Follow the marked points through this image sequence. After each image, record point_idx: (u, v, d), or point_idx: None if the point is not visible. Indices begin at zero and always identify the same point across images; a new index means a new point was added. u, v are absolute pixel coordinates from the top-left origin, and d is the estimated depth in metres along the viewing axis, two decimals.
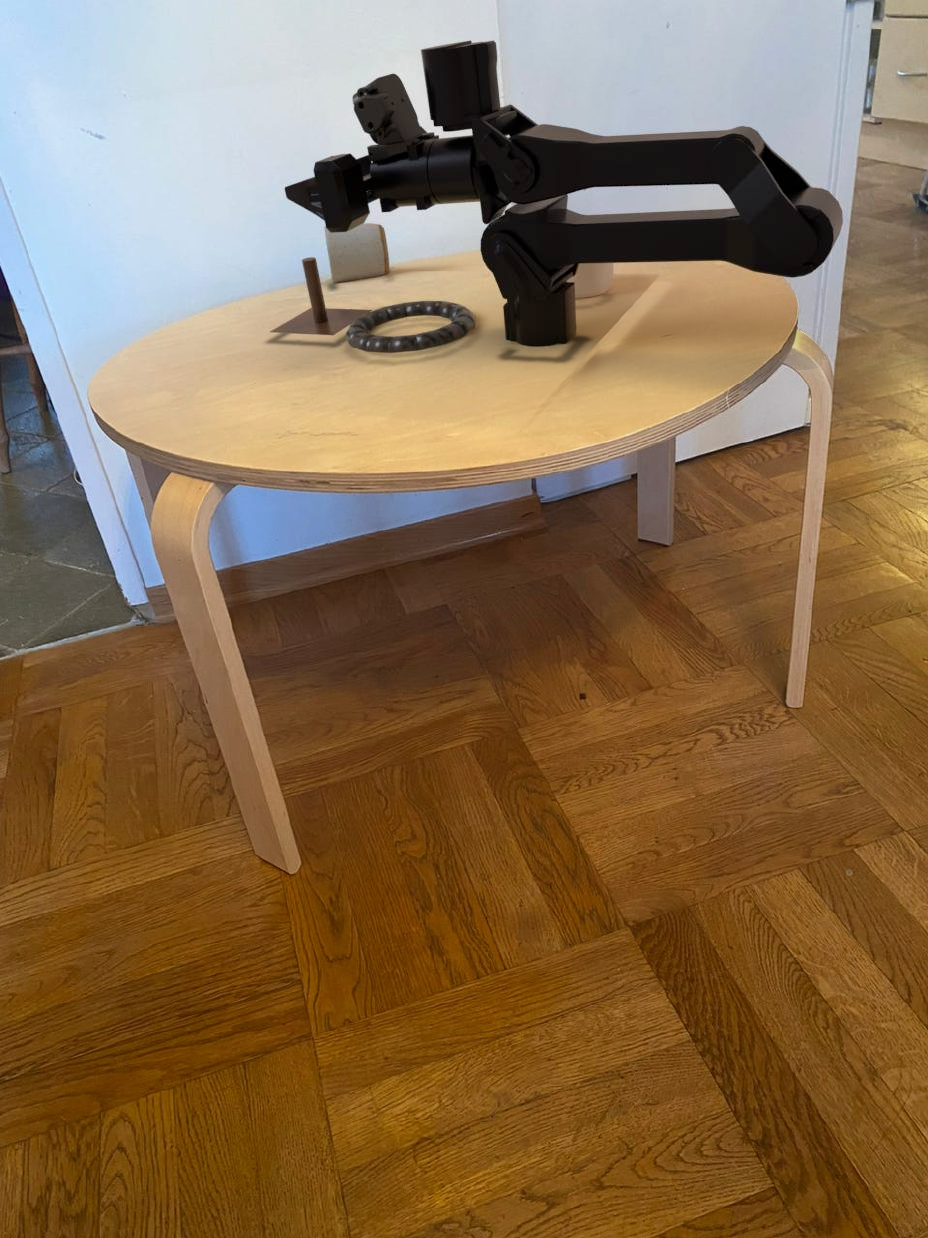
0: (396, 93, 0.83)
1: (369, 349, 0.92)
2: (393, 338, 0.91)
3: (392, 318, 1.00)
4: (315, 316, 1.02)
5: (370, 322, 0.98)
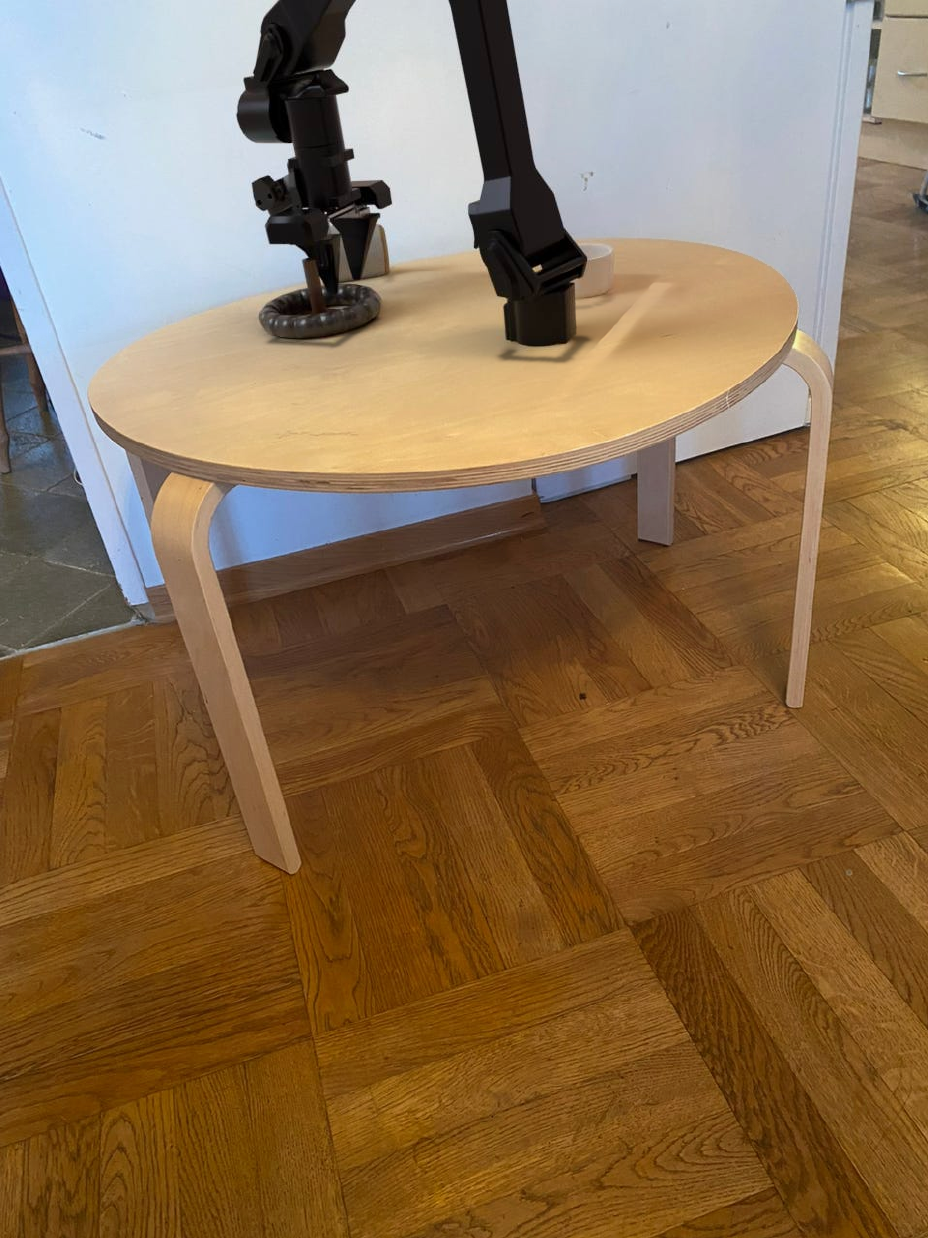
0: None
1: (277, 328, 0.98)
2: (298, 317, 0.97)
3: (306, 300, 1.06)
4: None
5: (283, 303, 1.04)
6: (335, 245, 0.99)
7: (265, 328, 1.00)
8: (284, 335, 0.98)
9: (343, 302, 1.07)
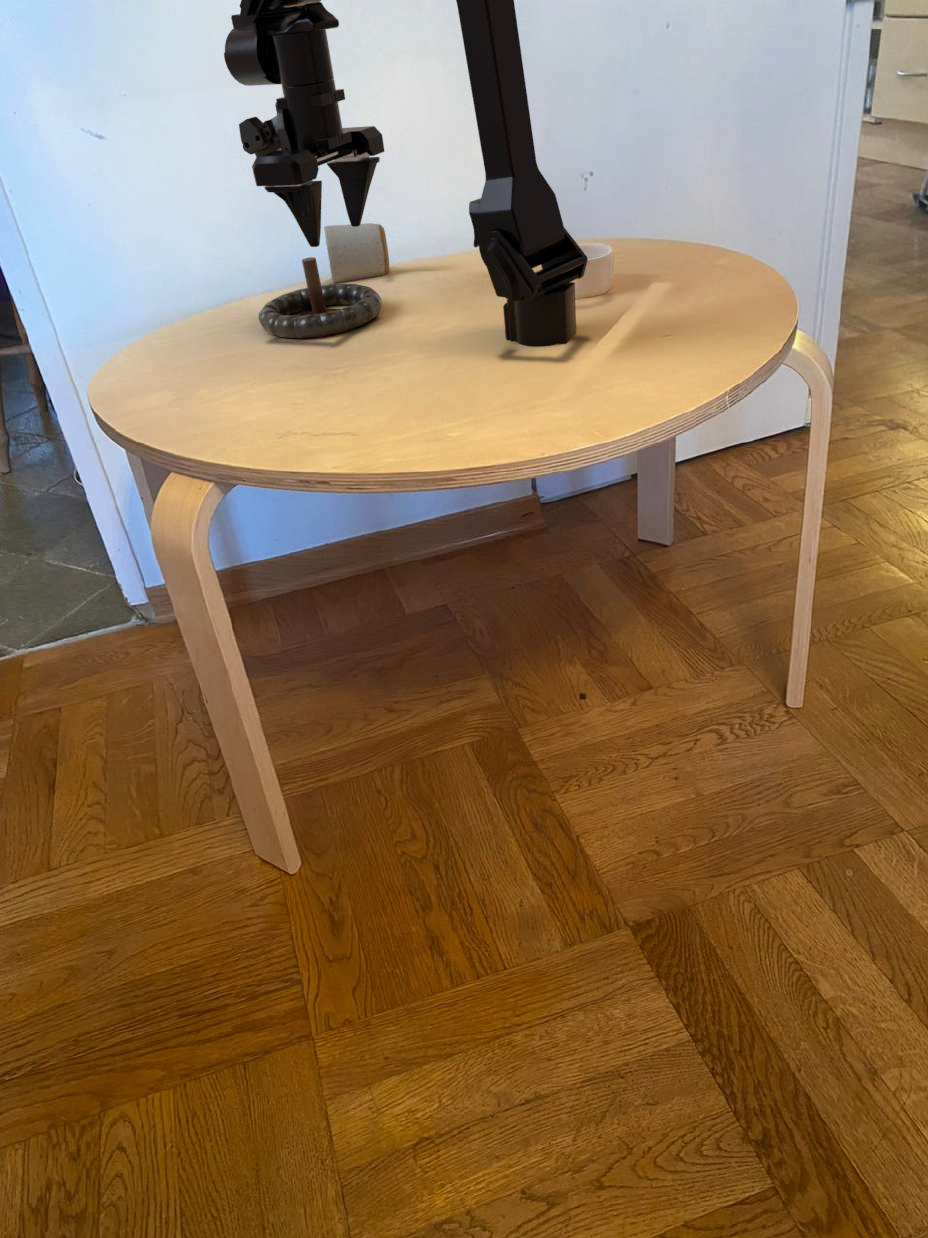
0: None
1: (277, 328, 0.98)
2: (298, 317, 0.97)
3: (306, 300, 1.06)
4: None
5: (283, 303, 1.04)
6: (316, 193, 0.94)
7: (265, 328, 1.00)
8: (284, 335, 0.98)
9: (343, 302, 1.07)
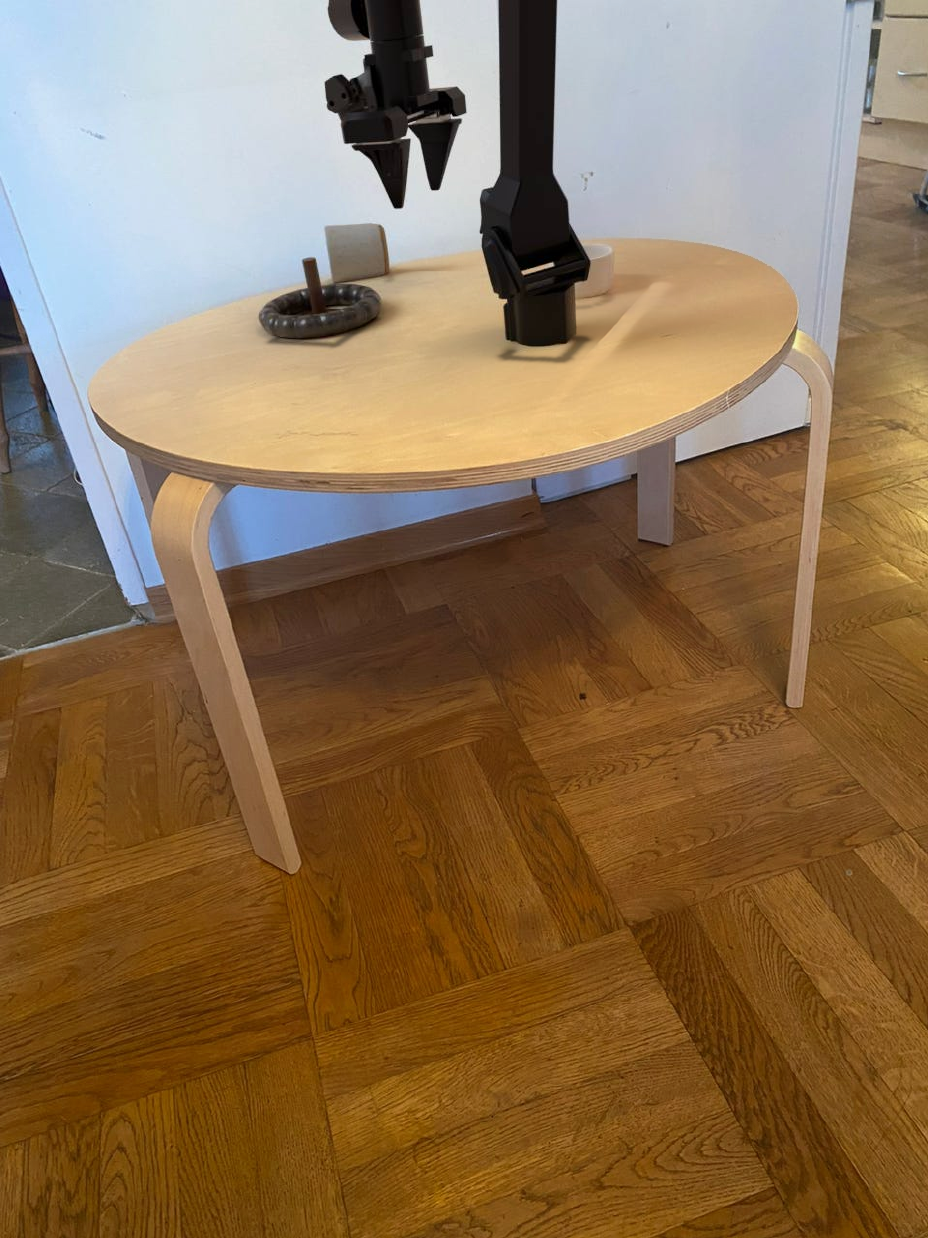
0: None
1: (277, 328, 0.98)
2: (298, 317, 0.97)
3: (306, 300, 1.06)
4: None
5: (283, 303, 1.04)
6: (405, 151, 0.92)
7: (265, 328, 1.00)
8: (284, 335, 0.98)
9: (343, 302, 1.07)
